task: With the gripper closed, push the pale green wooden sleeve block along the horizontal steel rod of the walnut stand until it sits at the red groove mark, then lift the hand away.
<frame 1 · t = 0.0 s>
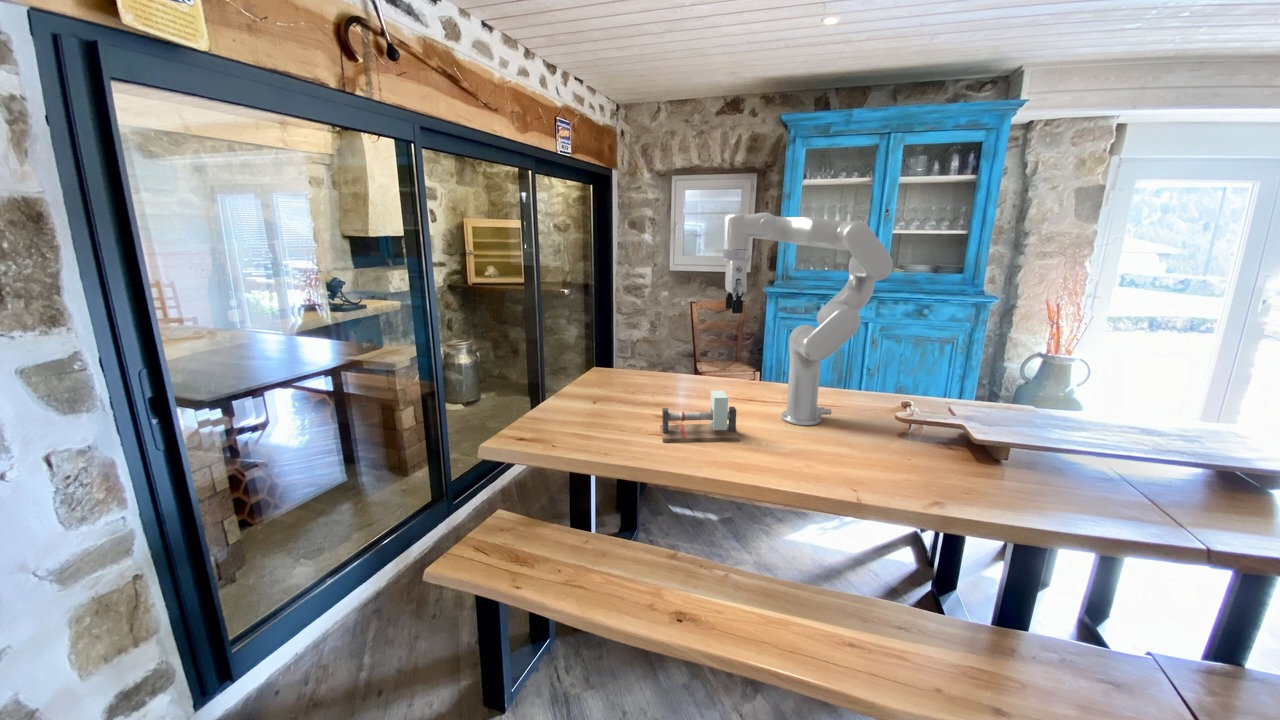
hand: (733, 310, 158), 37 cm above the table, tool pointing down, fingers open, 9 cm apart
rod stand: (698, 434, 155), on the table
sleeve block: (718, 410, 153), point 8 cm above the table, slide at -6.0 cm
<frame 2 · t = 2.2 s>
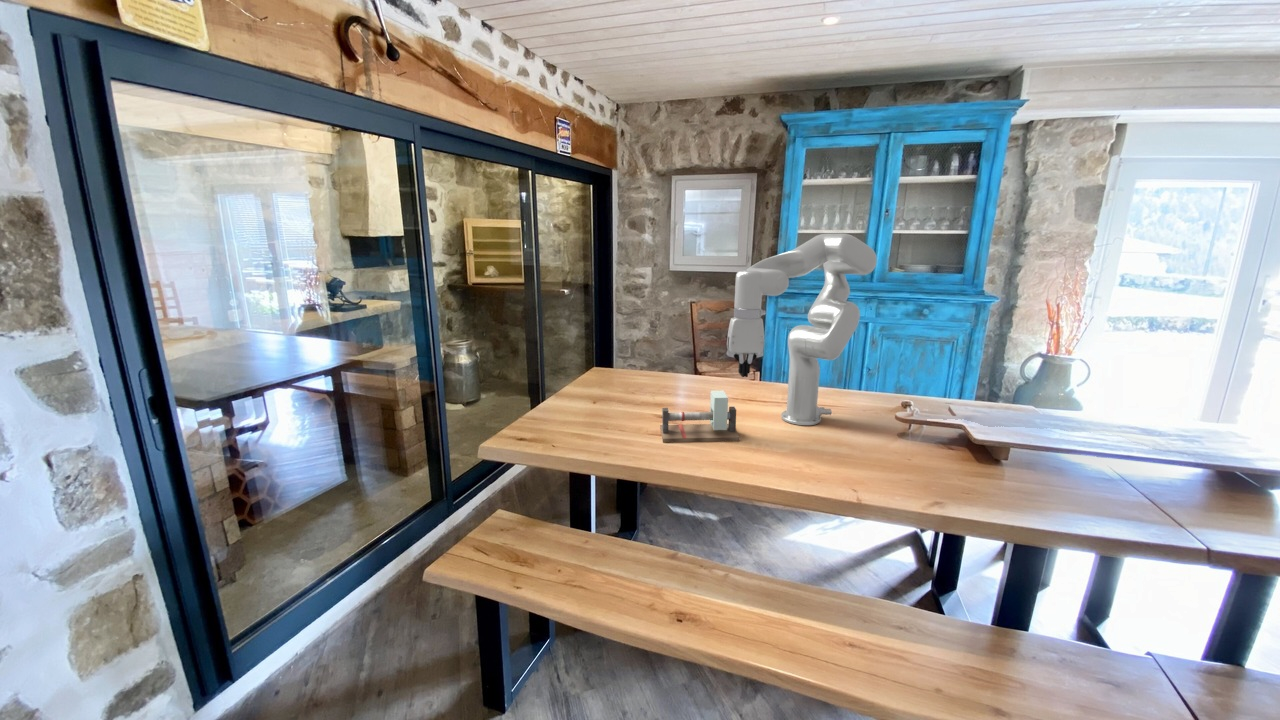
hand: (743, 375, 147), 19 cm above the table, tool pointing down, fingers closed
nothing on the table moved.
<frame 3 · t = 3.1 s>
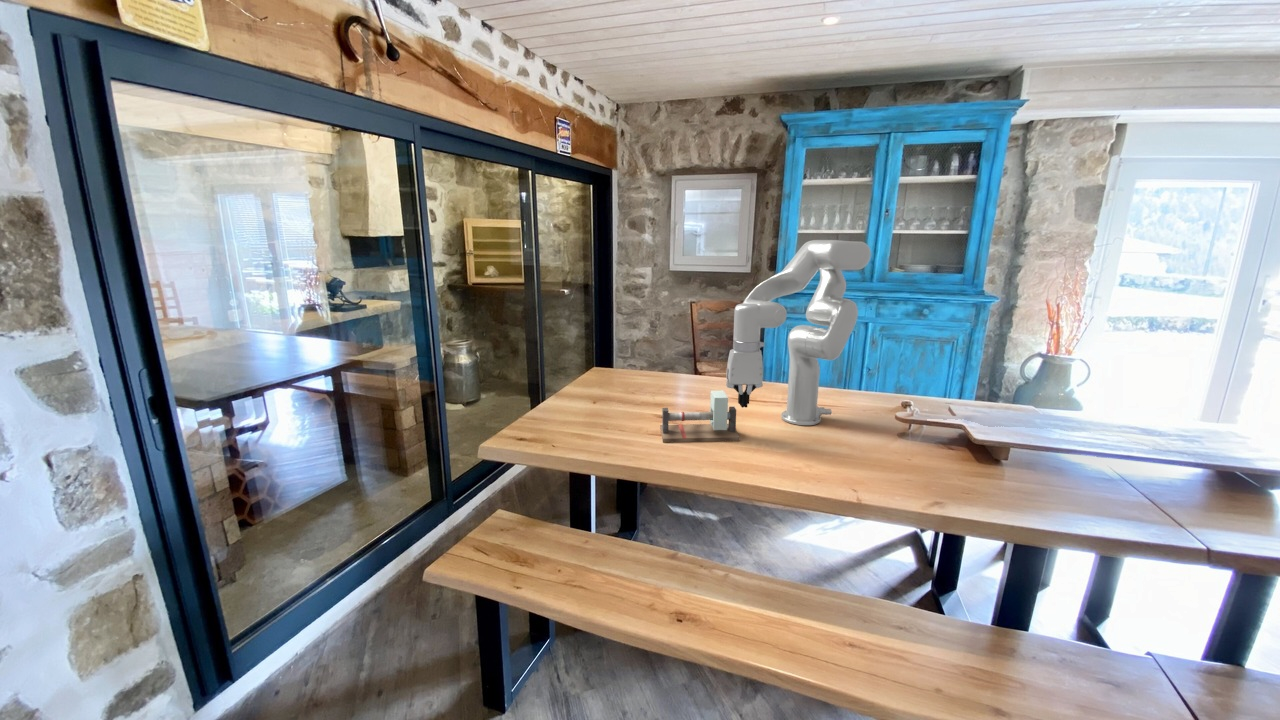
hand: (743, 405, 150), 10 cm above the table, tool pointing down, fingers closed
nothing on the table moved.
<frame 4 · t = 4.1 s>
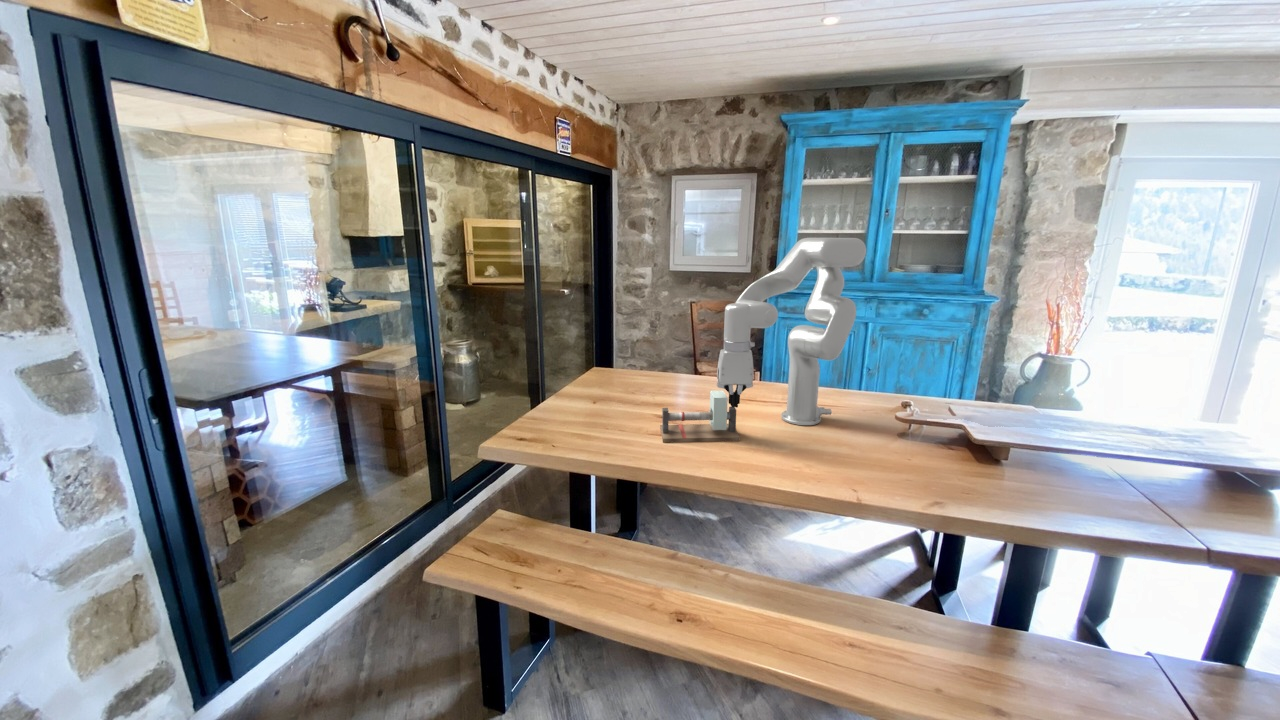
hand: (733, 405, 150), 10 cm above the table, tool pointing down, fingers closed
sleeve block: (718, 410, 153), point 8 cm above the table, slide at -5.9 cm, touching gripper
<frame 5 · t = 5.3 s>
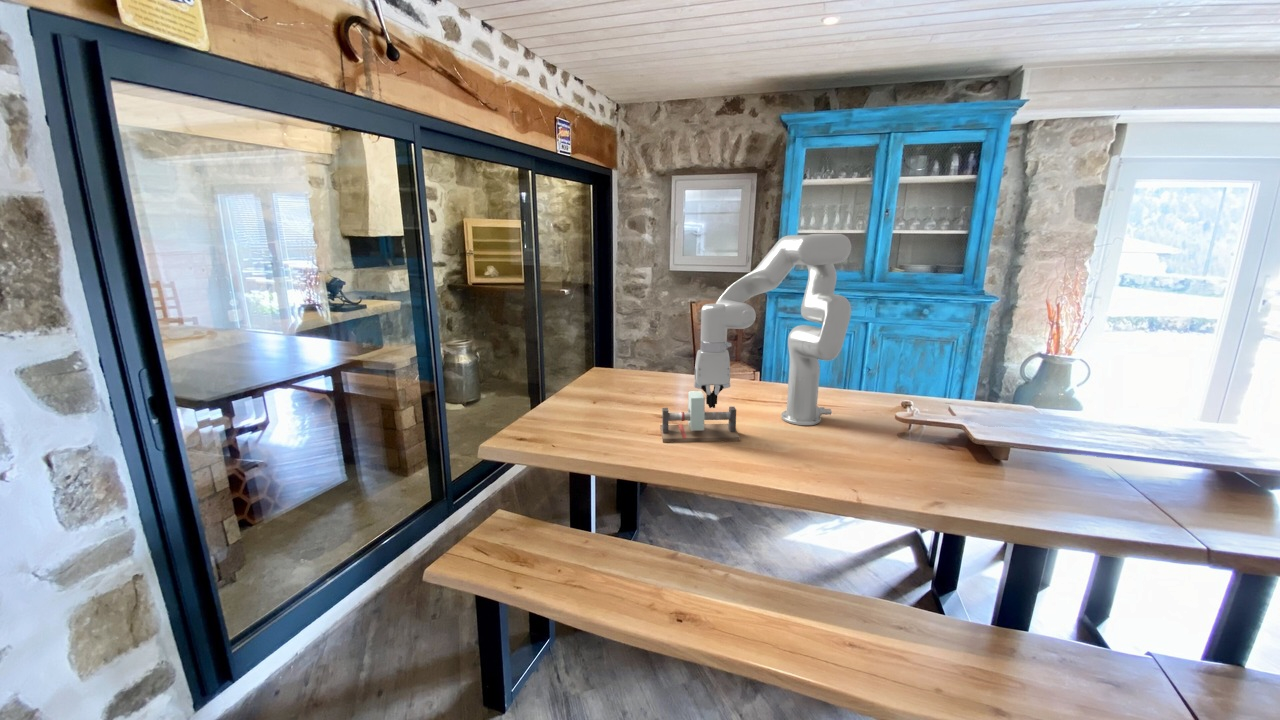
hand: (711, 406, 150), 10 cm above the table, tool pointing down, fingers closed
sleeve block: (696, 410, 153), point 8 cm above the table, slide at 0.9 cm, touching gripper
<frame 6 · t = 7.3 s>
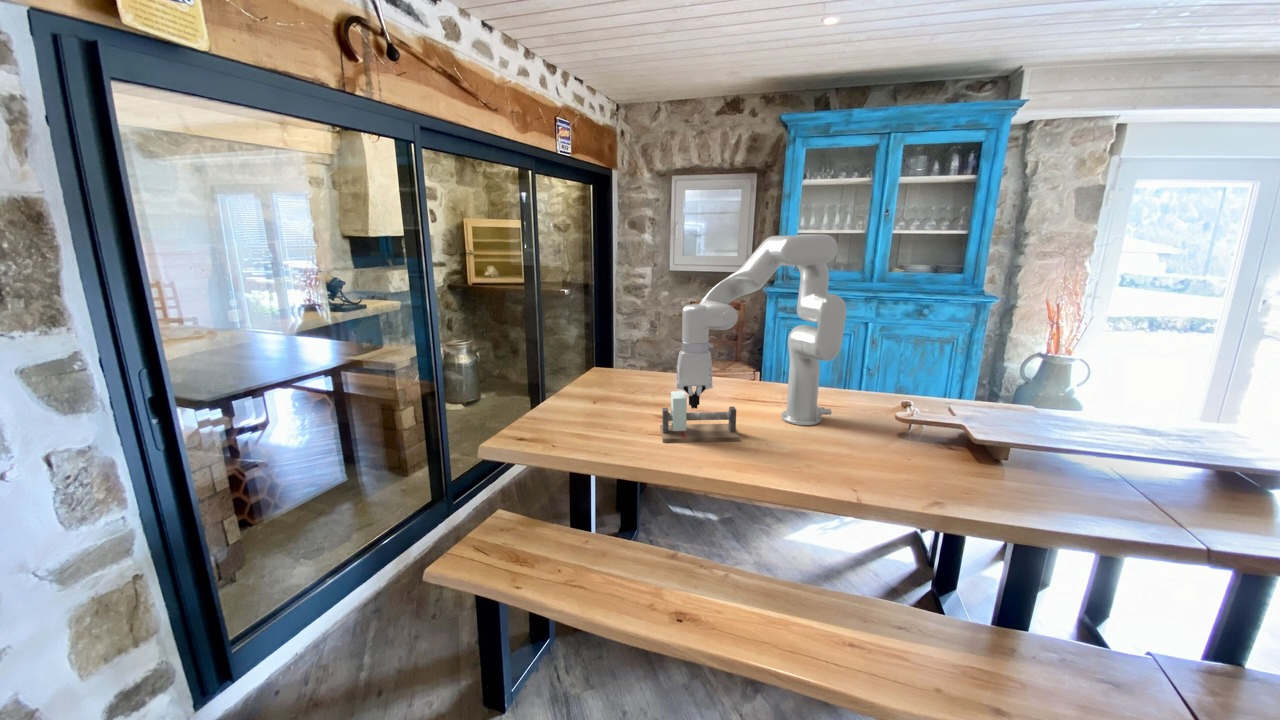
hand: (693, 407, 150), 10 cm above the table, tool pointing down, fingers closed
sleeve block: (678, 410, 152), point 8 cm above the table, slide at 6.3 cm
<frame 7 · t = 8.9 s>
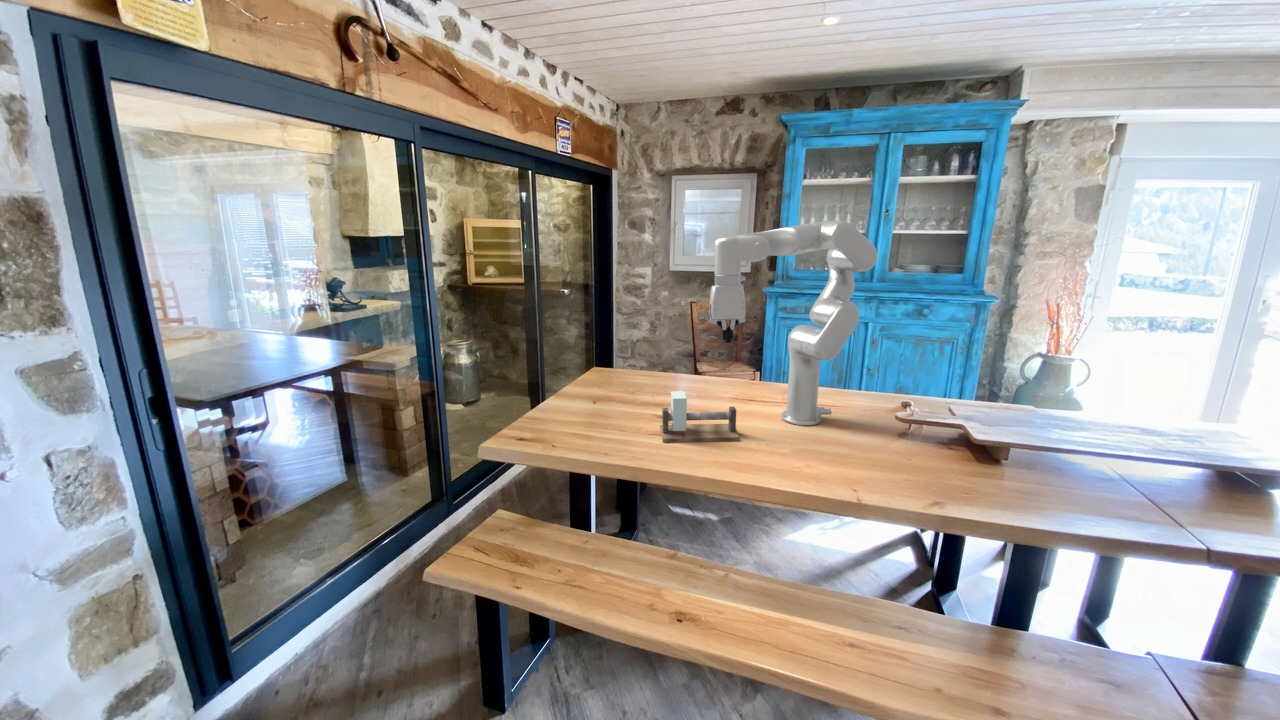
hand: (727, 342, 150), 29 cm above the table, tool pointing down, fingers closed
nothing on the table moved.
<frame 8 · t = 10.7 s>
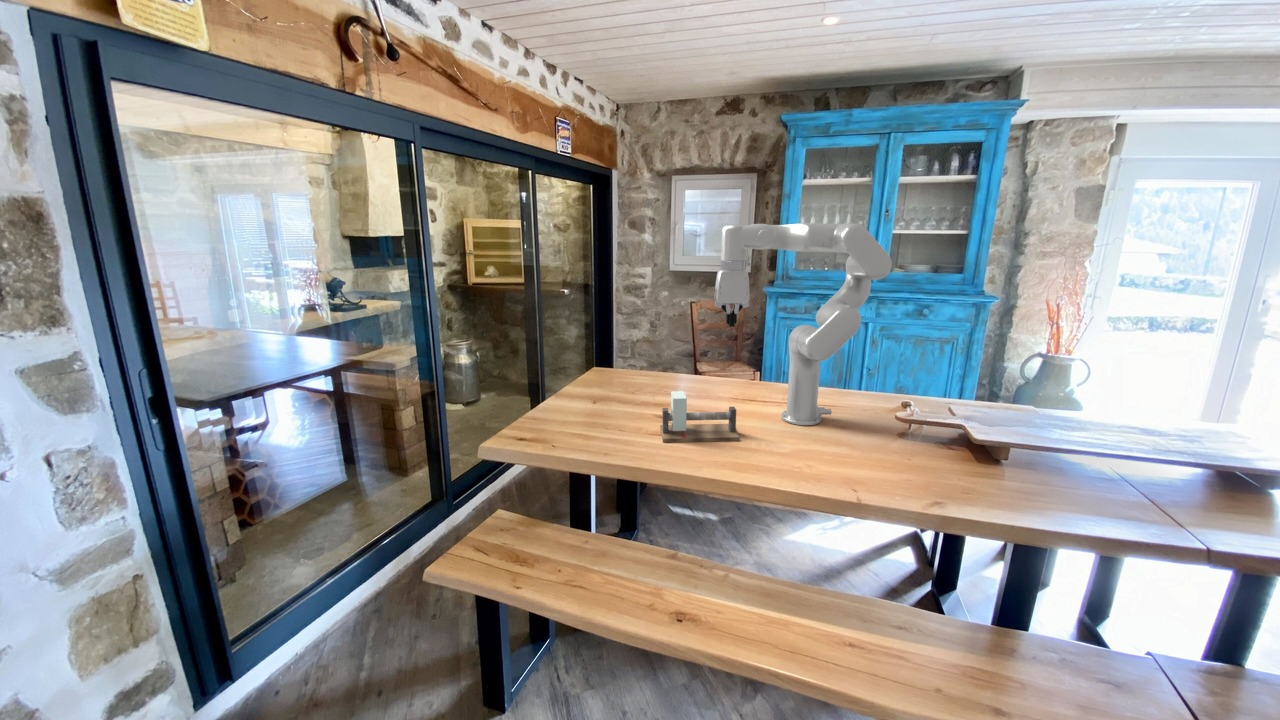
hand: (731, 325, 157), 32 cm above the table, tool pointing down, fingers closed
nothing on the table moved.
at the end: sleeve block slide at 6.3 cm; sleeve block touching nothing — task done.
